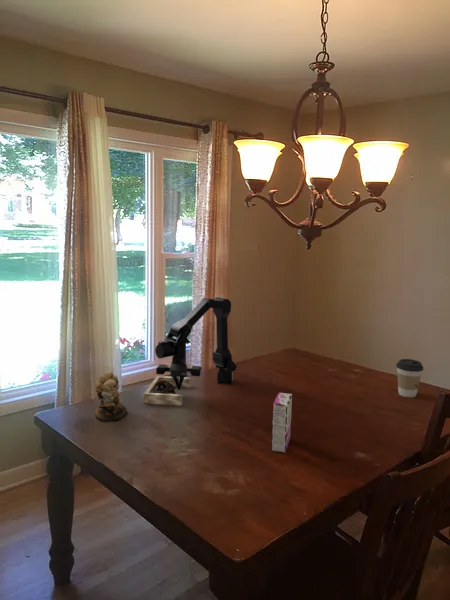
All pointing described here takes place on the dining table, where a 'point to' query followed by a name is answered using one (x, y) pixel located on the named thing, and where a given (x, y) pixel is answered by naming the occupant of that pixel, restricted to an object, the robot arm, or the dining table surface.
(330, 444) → the dining table surface
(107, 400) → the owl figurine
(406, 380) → the coffee cup
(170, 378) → the birch bracket
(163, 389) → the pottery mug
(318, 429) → the dining table surface
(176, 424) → the dining table surface
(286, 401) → the candy bar box
